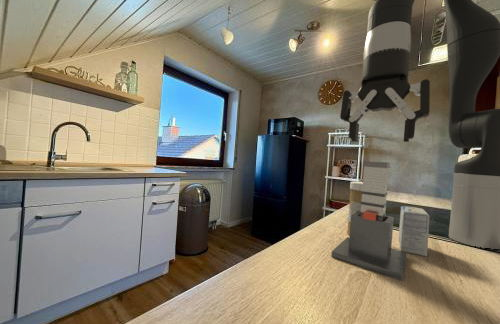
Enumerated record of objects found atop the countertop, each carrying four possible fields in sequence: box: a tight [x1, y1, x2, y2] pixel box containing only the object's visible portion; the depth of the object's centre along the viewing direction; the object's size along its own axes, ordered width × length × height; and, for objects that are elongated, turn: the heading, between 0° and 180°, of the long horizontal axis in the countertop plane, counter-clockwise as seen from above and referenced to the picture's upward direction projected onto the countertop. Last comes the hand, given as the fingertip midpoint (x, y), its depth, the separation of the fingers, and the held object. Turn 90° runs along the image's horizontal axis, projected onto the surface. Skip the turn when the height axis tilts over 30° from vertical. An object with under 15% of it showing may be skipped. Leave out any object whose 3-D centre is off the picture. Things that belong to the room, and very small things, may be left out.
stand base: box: [331, 211, 408, 281], centre depth 41 cm, size 11×11×9 cm
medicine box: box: [398, 205, 430, 257], centre depth 47 cm, size 8×4×9 cm, turn 148°
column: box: [360, 160, 391, 221], centre depth 41 cm, size 4×4×17 cm
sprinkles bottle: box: [346, 181, 363, 236], centre depth 53 cm, size 5×5×14 cm
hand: (378, 141), depth 41 cm, fingers open, 8 cm apart
